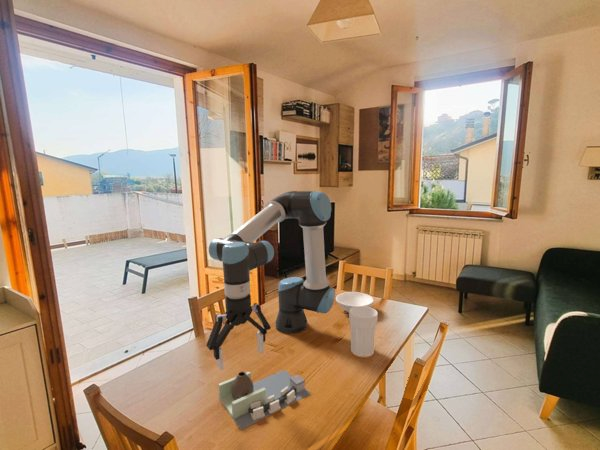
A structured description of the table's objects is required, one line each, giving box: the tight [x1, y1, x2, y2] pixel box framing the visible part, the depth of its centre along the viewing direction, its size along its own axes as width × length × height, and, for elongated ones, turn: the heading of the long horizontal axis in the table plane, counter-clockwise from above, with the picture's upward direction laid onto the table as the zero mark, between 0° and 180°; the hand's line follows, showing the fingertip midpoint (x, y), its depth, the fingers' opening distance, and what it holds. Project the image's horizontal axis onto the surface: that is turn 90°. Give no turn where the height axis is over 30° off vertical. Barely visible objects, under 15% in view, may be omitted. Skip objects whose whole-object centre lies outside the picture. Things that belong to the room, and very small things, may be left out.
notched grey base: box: [249, 386, 296, 413], centre depth 100 cm, size 4×19×1 cm, turn 126°
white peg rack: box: [250, 374, 306, 420], centre depth 100 cm, size 7×20×3 cm, turn 126°
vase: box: [231, 371, 254, 400], centre depth 100 cm, size 7×7×9 cm
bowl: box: [335, 291, 374, 313], centre depth 168 cm, size 20×20×7 cm
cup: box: [348, 306, 379, 360], centre depth 128 cm, size 11×11×17 cm
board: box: [218, 369, 312, 431], centre depth 103 cm, size 16×25×1 cm, turn 126°
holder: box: [218, 371, 266, 421], centre depth 100 cm, size 11×11×5 cm
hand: (241, 359), depth 99 cm, fingers open, 13 cm apart
